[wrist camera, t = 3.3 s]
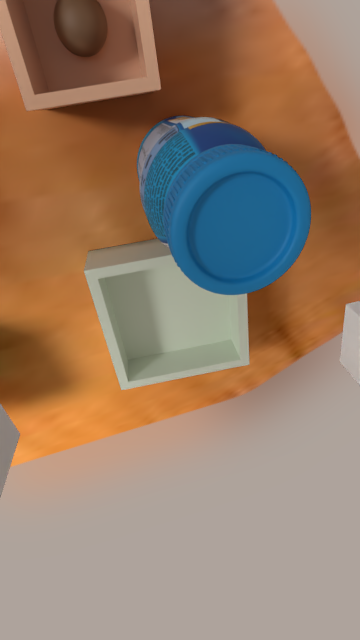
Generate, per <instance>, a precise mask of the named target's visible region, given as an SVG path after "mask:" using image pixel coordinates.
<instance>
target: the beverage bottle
mask: <svg viewBox="0 0 360 640" xmlns="http://www.w3.org/2000/svg"><path fill="white" fill-rule="evenodd" d="M137 173H138V178H139V181H140V197H141V202H142V206H143V209H144V211H145V214H146V216H147V219H148V222H149V224H150V226H151V228H152V230H153V232H154V233H155V235H156V236H157V238H158V239H159V240H160V241H161V242H162V244H163V245H165V246H166V247H167V248H168V249H169V250H170V251H171V254H172V257H174V260H175V263H177V266H178V267H180V269H181V271H182V272H183V273H184V275H186V276H187V277H188V278H189V279H190V280H191V281H192V282H193V283H195V284H196V285H198V286H199V287H201V288H203V289H205V290H207V291H210V292H213V293H217V294H222V295H241V294H246V293H250V292H254V291H257V290H259V289H262V288H264V287H266V286H268V285H269V284H271V283H273V282H274V281H275V280H277V279H278V278H279V277H281V276H282V275H283V274H284V273H285V272H286V271H287V270H288V269H289V268H290V267H291V266H292V265H293V263H294V262H295V261H296V259H297V258H298V256H299V254H300V253H301V251H302V249H303V247H304V245H305V242H306V240H307V237H308V233H309V229H310V223H311V205H310V200H309V195H308V192H307V189H306V187H305V185H304V183H303V181H302V180H301V178H300V177H299V175H298V174H297V173H296V171H295V170H294V169H293V168H292V166H289V165H288V164H287V162H286V161H283V159H282V158H279V157H277V155H275V154H272V153H271V152H267V151H266V150H265V148H264V147H263V146H262V144H261V143H260V142H259V141H258V140H257V139H256V138H255V137H254V136H253V135H252V134H250V133H249V132H247V131H246V130H244V129H242V128H240V127H238V126H236V125H233V124H230V123H228V122H226V121H223V120H220V119H216V118H210V117H197V118H194V117H190V116H173V117H169V118H167V119H164V120H162V121H160V122H159V123H157V124H156V125H155V126H154V127H153V128H152V129H151V130H150V131H149V132H148V133H147V134H146V136H145V137H144V139H143V141H142V143H141V145H140V148H139V152H138V157H137Z"/></svg>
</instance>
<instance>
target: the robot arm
mask: <svg viewBox="0 0 360 640" xmlns="http://www.w3.org/2000/svg"><path fill="white" fill-rule="evenodd" d="M340 363H341V364H342V365H343V366H344V367H345V369H346V370H347V371H348V372H349V373H350V375H351V376H352V377H353V378H354V379H355V381H356V382H357V383H358V384H359V385H360V301H357V302H353V303H348V304H346V308H345V317H344V326H343V336H342V345H341V353H340ZM19 436H20V433H19V431H18V430H17V428H16V427H15V425H14V424H13V422H12V421H11V419H10V418H9V416H8V415H7V413H6V411H5V410H4V408H3V407H2V405H1V404H0V497H1V494H2V490H3V487H4V484H5V481H6V478H7V475H8V471H9V468H10V465H11V462H12V459H13V455H14V452H15V449H16V446H17V443H18V439H19Z"/></svg>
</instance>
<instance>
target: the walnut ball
mask: <svg viewBox="0 0 360 640" xmlns="http://www.w3.org/2000/svg"><path fill="white" fill-rule="evenodd" d="M54 26H55V30H56V33H57V35H58V37H59V39H60V41H61V42H62V44H63V45H64V46H65V47H66V48H67V49H68V50H69V51H70V52H71V53H73V54H75V55H77V56H81V57H90V56H93V55H95V54H97V53H98V52H99V51H100V50H101V49H102V47H103V46H104V44H105V41H106V38H107V30H108V28H107V20H106V16H105V13H104V11H103V8H102V7H101V5H100V3H99V2H98V1H97V0H57V2H56V5H55V8H54Z"/></svg>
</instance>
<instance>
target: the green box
mask: <svg viewBox="0 0 360 640" xmlns="http://www.w3.org/2000/svg"><path fill="white" fill-rule="evenodd" d="M84 273H85V276H86V279H87V283H88V286H89V289H90V292H91V295H92V298H93V302H94V305H95V308H96V311H97V314H98V317H99V321H100V324H101V327H102V330H103V333H104V336H105V340H106V343H107V346H108V349H109V352H110V355H111V359H112V362H113V365H114V368H115V371H116V374H117V377H118V381H119V384H120V387H121V390H125V389H130V388H135V387H140V386H145V385H150V384H155V383H160V382H165V381H170V380H175V379H180V378H185V377H190V376H195V375H200V374H205V373H210V372H214V371H219V370H224V369H229V368H234V367H239V366H244V365H249V339H248V309H247V293H246V294H241V295H222V294H217V293H213V292H210V291H207V290H205V289H203V288H201V287H199V286H198V285H196V284H195V283H193V282H192V281H191V280H190V279H189V278H188V277H187V276H186V275H184V273H183V272H182V271H181V269H180V267H178V266H177V263H175V260H174V257H172V254H171V251H170V250H169V249H168V248H167V247H166V246H165V245H163V244H162V242H161V241H160V240H159V239H152V240H147V241H141V242H136V243H130V244H125V245H119V246H114V247H108V248H103V249H97V250H92V251H88V255H87V259H86V264H85V268H84Z"/></svg>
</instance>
